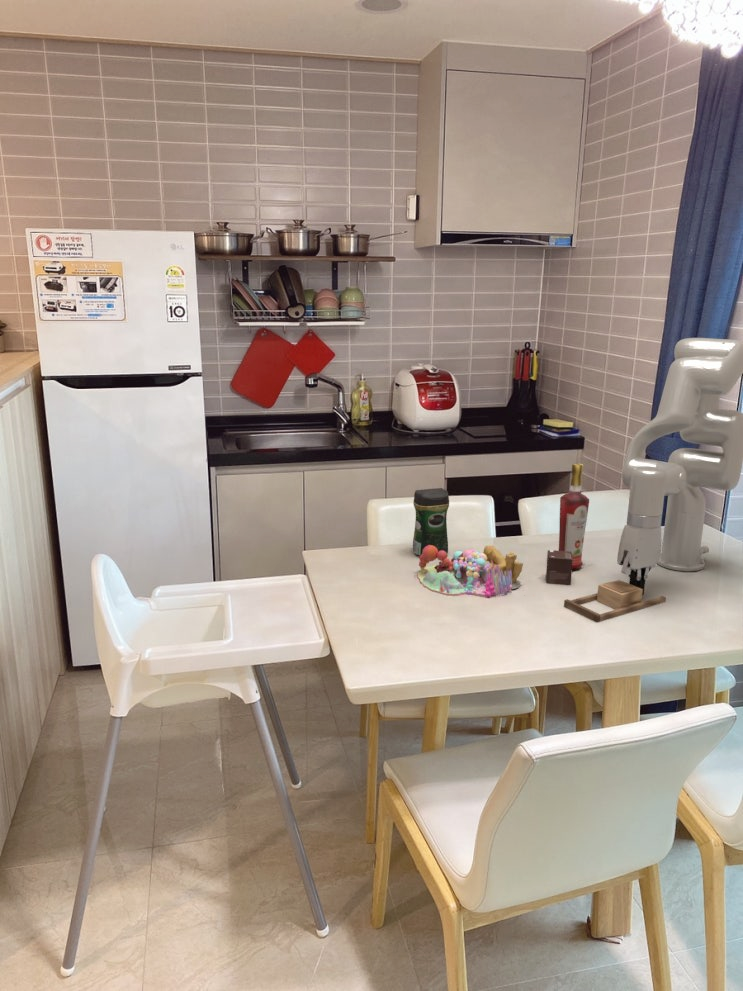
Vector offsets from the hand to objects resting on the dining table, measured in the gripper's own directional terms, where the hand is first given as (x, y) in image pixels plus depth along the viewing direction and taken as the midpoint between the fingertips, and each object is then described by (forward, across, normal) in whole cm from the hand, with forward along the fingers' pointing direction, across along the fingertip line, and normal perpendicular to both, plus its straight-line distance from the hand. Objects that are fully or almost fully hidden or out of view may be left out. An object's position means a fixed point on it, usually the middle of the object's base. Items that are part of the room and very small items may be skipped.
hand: (635, 593), depth 182 cm
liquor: (+2, -3, -24) cm, 24 cm away
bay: (+2, +7, 0) cm, 7 cm away
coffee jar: (+2, +23, -51) cm, 56 cm away
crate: (+1, +6, 0) cm, 6 cm away
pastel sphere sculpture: (+2, +26, -30) cm, 40 cm away
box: (+2, +7, -18) cm, 20 cm away
